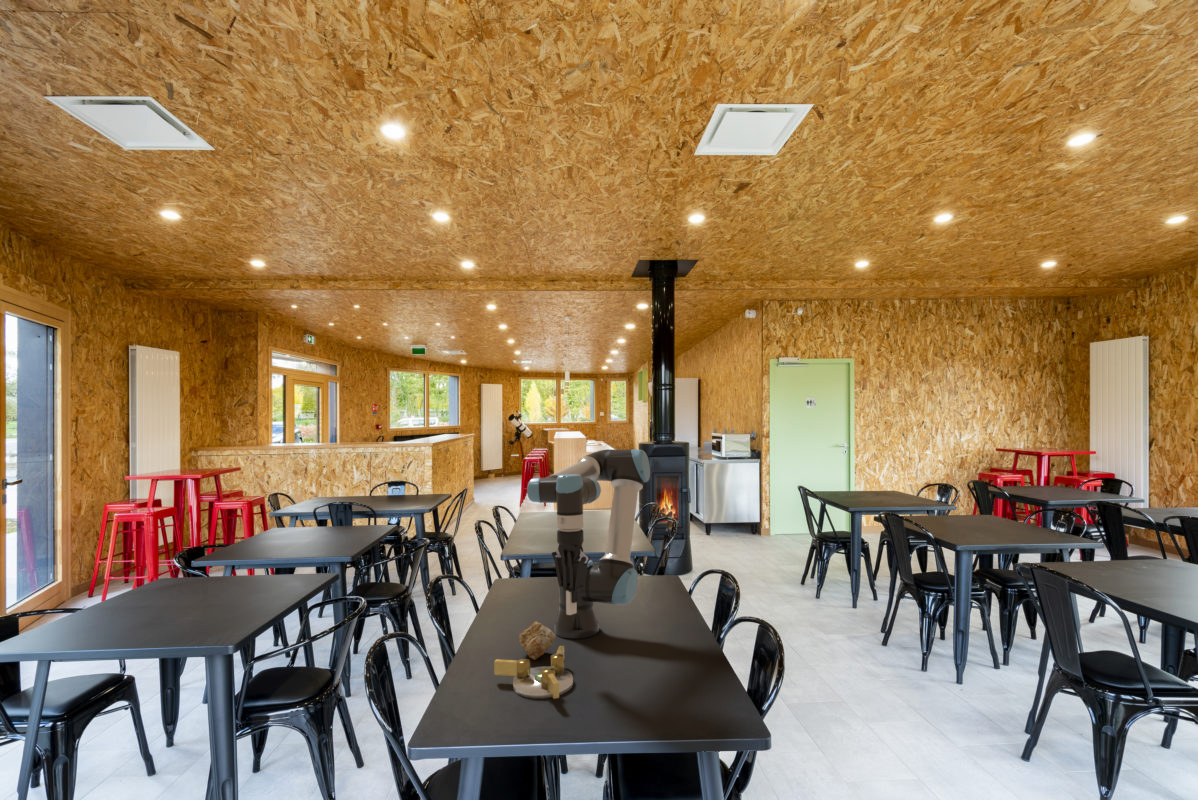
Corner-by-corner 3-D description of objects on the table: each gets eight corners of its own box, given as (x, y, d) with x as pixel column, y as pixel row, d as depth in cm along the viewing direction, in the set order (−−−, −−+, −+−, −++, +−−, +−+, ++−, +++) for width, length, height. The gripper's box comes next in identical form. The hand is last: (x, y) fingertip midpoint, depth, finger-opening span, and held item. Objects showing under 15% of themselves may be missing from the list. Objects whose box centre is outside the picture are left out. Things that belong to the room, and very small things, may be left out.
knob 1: (531, 674, 157) (531, 659, 157) (527, 679, 153) (527, 664, 153) (497, 672, 158) (497, 657, 159) (492, 677, 155) (492, 662, 155)
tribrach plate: (500, 686, 153) (500, 674, 153) (543, 667, 165) (543, 656, 166) (542, 704, 143) (542, 691, 143) (585, 682, 155) (585, 670, 155)
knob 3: (563, 673, 156) (562, 658, 157) (549, 673, 157) (549, 658, 157) (568, 659, 166) (568, 645, 166) (555, 659, 167) (555, 645, 167)
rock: (559, 652, 177) (559, 619, 177) (546, 665, 167) (545, 630, 167) (524, 648, 180) (524, 616, 181) (509, 661, 171) (508, 626, 171)
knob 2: (539, 684, 150) (539, 668, 150) (553, 682, 151) (552, 666, 152) (549, 700, 141) (549, 684, 141) (563, 698, 142) (563, 681, 142)
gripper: (544, 528, 165) (545, 612, 164) (578, 533, 157) (579, 621, 155) (562, 525, 171) (563, 606, 169) (596, 529, 162) (597, 614, 161)
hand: (571, 613), depth 162 cm, fingers closed
